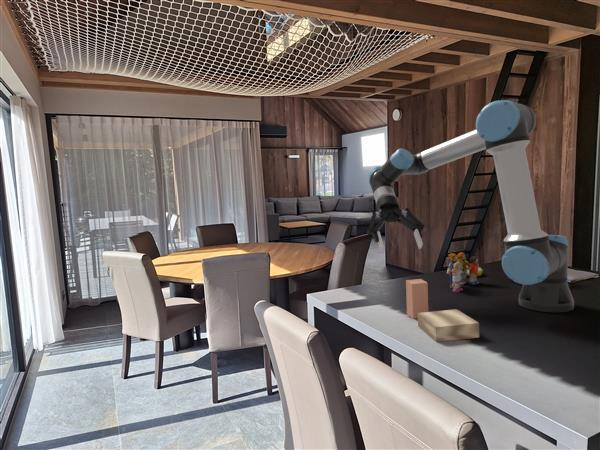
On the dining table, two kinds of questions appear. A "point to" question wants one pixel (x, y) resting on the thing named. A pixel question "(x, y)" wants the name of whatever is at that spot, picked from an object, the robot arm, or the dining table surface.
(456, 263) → the doll family
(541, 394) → the dining table surface
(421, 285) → the block
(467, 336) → the plinth
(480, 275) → the decorated donut
